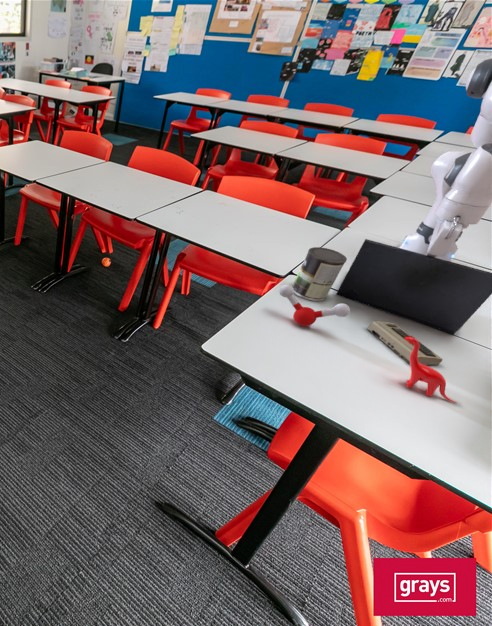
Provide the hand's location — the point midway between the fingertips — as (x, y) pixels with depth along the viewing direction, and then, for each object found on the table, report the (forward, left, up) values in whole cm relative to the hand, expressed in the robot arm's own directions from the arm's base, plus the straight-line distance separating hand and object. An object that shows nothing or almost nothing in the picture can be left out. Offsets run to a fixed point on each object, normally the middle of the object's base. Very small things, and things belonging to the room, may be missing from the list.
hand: (427, 259), depth 115 cm
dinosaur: (+33, +10, -20) cm, 39 cm away
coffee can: (+2, -22, -20) cm, 30 cm away
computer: (+15, +5, -20) cm, 25 cm away
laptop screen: (-1, 0, -8) cm, 8 cm away
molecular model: (+24, -18, -20) cm, 36 cm away
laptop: (-14, 0, -20) cm, 25 cm away
